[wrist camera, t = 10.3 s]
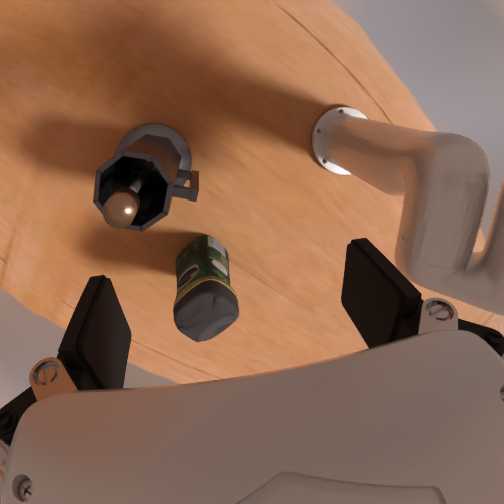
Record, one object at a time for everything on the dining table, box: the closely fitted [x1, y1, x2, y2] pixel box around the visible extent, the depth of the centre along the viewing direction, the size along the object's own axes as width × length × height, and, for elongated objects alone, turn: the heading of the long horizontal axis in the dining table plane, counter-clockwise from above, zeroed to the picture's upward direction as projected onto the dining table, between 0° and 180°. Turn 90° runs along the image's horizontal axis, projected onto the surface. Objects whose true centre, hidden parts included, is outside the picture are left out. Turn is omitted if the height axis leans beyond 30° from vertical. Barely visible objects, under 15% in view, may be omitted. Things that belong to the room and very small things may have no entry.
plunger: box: [103, 157, 165, 229], centre depth 35 cm, size 7×7×22 cm
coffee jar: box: [173, 236, 239, 342], centre depth 48 cm, size 10×8×19 cm
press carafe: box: [93, 124, 199, 232], centre depth 39 cm, size 14×13×17 cm
